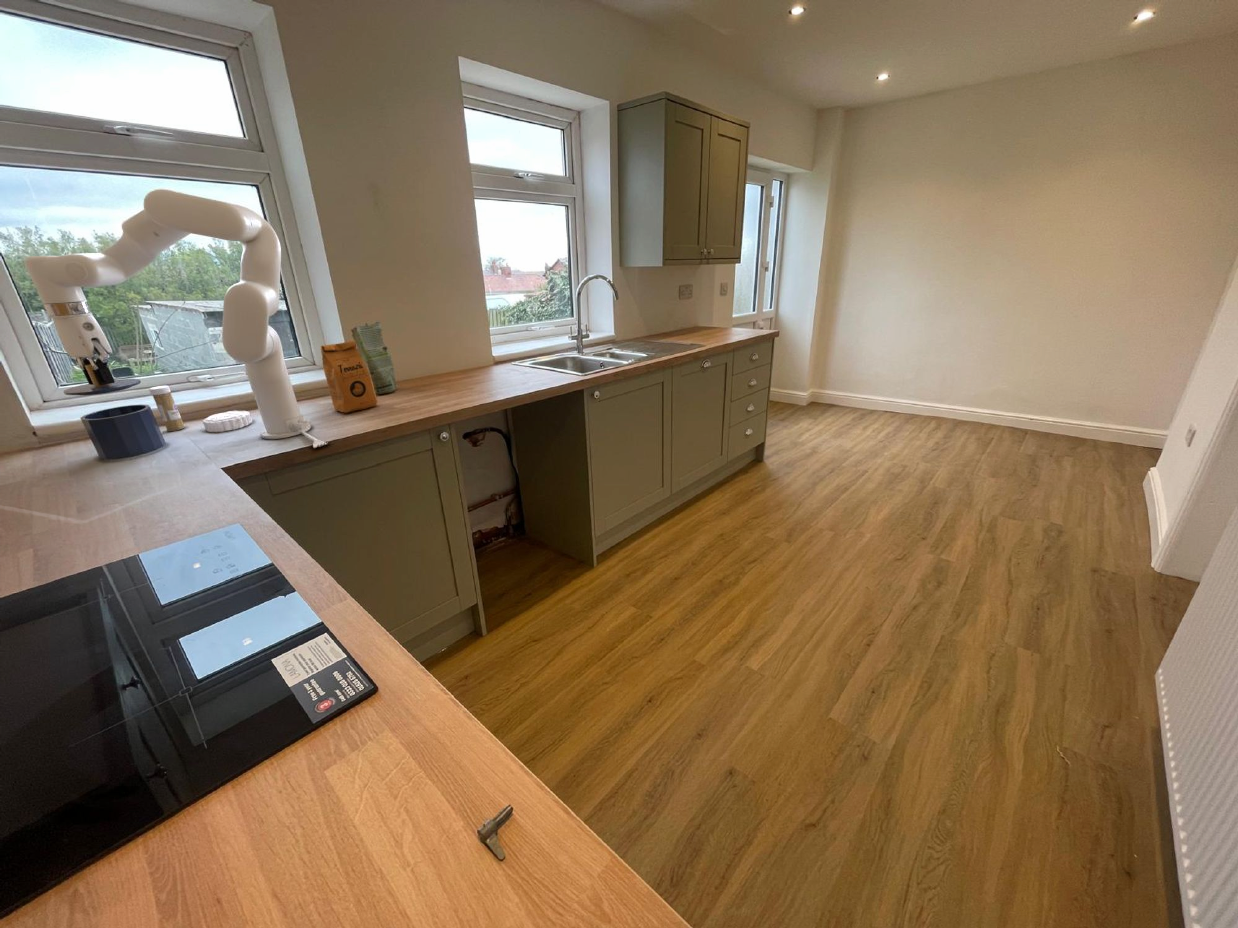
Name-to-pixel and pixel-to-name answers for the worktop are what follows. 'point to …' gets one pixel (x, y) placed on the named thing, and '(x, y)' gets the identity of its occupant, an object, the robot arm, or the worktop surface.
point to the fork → (314, 440)
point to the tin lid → (100, 389)
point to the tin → (123, 431)
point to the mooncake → (227, 421)
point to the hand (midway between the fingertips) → (102, 383)
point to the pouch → (375, 357)
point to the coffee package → (347, 377)
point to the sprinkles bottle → (167, 408)
